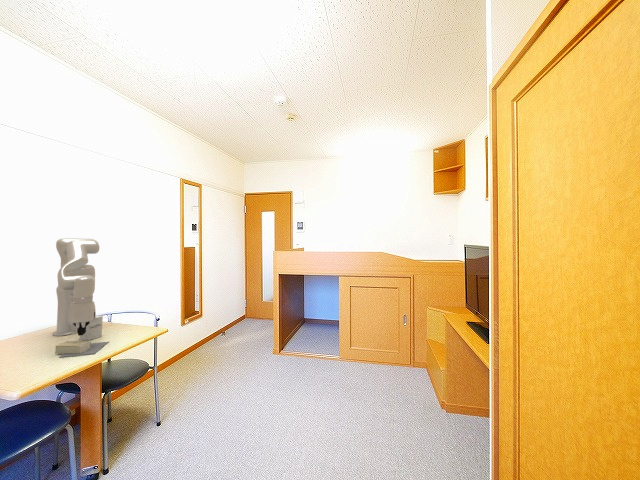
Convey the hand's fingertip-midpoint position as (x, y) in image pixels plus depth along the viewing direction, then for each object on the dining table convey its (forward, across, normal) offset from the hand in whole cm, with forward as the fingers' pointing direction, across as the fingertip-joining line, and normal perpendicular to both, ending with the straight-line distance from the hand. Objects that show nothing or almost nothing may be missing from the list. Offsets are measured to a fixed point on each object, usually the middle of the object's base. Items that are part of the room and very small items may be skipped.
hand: (81, 334), depth 129 cm
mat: (+8, +2, 0) cm, 8 cm away
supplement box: (+9, -4, +19) cm, 21 cm away
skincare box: (+6, -8, -1) cm, 10 cm away
